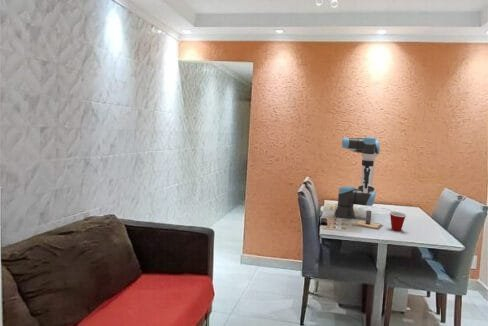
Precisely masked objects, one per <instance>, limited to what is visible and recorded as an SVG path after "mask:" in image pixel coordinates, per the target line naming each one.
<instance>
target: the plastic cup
mask: <svg viewBox="0 0 488 326" xmlns="http://www.w3.org/2000/svg"><path fill="white" fill-rule="evenodd" d="M389 216H390V226H391V227H390V228H391V230H392V231H395V232H401V231H402V229H403V226H404V222H405V220H406V217H407V214H406V213H403V212H400V211H389Z"/></svg>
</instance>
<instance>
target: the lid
mask: <svg viewBox="0 0 488 326" xmlns="http://www.w3.org/2000/svg"><path fill="white" fill-rule="evenodd" d="M365 213H366V216H365V220H362V219H361V220H360V219H359V220H357V221H358V222H357V221H356V222H354V223H355V224H354V223H353V224H354V225H355V226H354V227H358V226H361V227H360V228H363V227H367V228H366V229H369V228H373V229H372V230H375V229H377V228H378V227H380V226H381V225H382V223H378V222H373V221H371V220H372V210H366V212H365Z"/></svg>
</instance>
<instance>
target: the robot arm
mask: <svg viewBox="0 0 488 326" xmlns="http://www.w3.org/2000/svg"><path fill="white" fill-rule="evenodd" d="M341 140H342V142H341V148H342V149H346V150H348V151H350V152H354V153H359V154H361V156H362V157H361V159H362V160H361V166H362V167H361V176H360V178H361V179H360V185H358V186H357V187H358V188H356V186H354V185H353V186H351V185H347V186H345V185H344V186H340V187H339V188H338V194H337V195H338V197H337V207H336V209H335V210H334V214H333V215H334V217H335V216H336V217H335V218H337V217H339V218H338V219H344V220H346V219H348V220H353V219H355V218H356V214H355V213H356V212H355V209H354V205H357V206H366V207H373V206H374V204H375V200H376V195H377V191H376V190H375V187H374V185H373V184H374V173H375V161H376V157H378V155H380V152H381V151H380V140H379V139H377V138H376V136H375V137H374V136H364V137H343V138H342V139H341Z"/></svg>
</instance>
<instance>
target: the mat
mask: <svg viewBox="0 0 488 326" xmlns="http://www.w3.org/2000/svg"><path fill="white" fill-rule="evenodd" d="M358 221H359V220H357V221H356V222H358ZM356 222H354V223H353V224H351V226H352V227H353V226H354V227H356V226H355V225H354V224H355V223H356ZM357 227H358V228H365V229H370V230H377V231H379V230H380V229H381V228H382V227H384V224H381V226H380V227H378V228H377V229H373V228H367V227H361V226H357Z"/></svg>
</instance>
